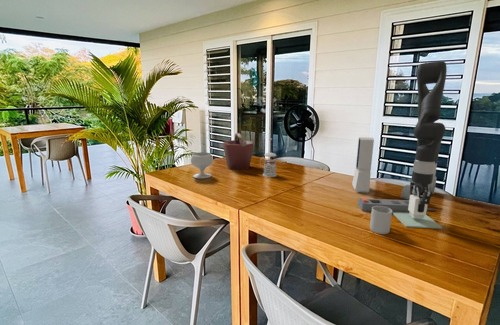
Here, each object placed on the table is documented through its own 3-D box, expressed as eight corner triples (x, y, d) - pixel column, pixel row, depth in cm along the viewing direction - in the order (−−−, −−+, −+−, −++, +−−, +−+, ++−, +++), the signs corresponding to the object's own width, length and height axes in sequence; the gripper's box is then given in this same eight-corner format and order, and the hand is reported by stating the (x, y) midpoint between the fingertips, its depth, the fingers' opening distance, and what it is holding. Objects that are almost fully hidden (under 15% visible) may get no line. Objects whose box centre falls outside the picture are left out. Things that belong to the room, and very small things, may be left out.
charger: (419, 214, 124) (422, 194, 122) (425, 219, 119) (428, 199, 117) (407, 213, 124) (410, 194, 122) (412, 218, 119) (415, 198, 117)
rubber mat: (424, 214, 128) (424, 213, 128) (441, 228, 115) (442, 227, 114) (392, 213, 129) (392, 212, 129) (405, 227, 116) (406, 225, 116)
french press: (277, 177, 186) (278, 139, 180) (259, 176, 186) (260, 139, 180) (276, 173, 195) (277, 137, 189) (259, 172, 195) (260, 136, 190)
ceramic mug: (414, 204, 140) (417, 190, 138) (399, 199, 147) (401, 185, 145) (428, 201, 144) (430, 187, 143) (412, 196, 152) (415, 183, 150)
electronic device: (369, 193, 155) (375, 139, 148) (354, 192, 157) (360, 138, 150) (365, 186, 167) (370, 136, 160) (351, 185, 168) (356, 135, 162)
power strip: (430, 208, 136) (432, 199, 135) (438, 213, 129) (440, 205, 128) (357, 205, 139) (358, 196, 138) (361, 210, 132) (362, 202, 131)
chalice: (217, 176, 186) (217, 153, 183) (201, 180, 176) (200, 157, 172) (203, 172, 195) (202, 151, 192) (187, 176, 185) (186, 154, 181)
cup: (366, 230, 112) (369, 209, 110) (375, 222, 120) (377, 202, 118) (386, 236, 108) (388, 214, 106) (393, 227, 115) (396, 207, 113)
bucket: (253, 171, 199) (253, 136, 193) (221, 171, 199) (221, 135, 193) (253, 163, 223) (253, 131, 217) (225, 163, 223) (224, 131, 217)
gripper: (442, 176, 110) (435, 216, 114) (423, 167, 123) (418, 203, 127) (422, 175, 110) (416, 216, 114) (405, 166, 124) (400, 203, 128)
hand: (417, 209), depth 121 cm, fingers closed on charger, 4 cm apart
